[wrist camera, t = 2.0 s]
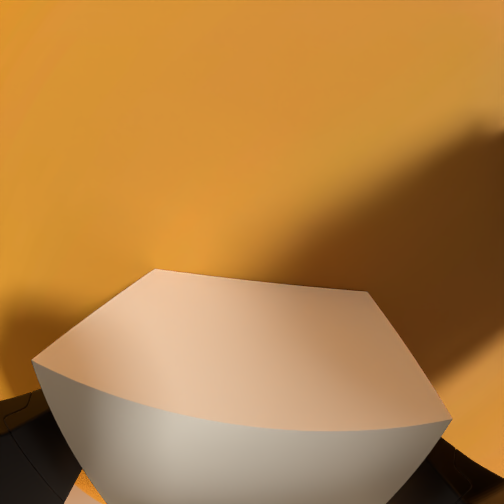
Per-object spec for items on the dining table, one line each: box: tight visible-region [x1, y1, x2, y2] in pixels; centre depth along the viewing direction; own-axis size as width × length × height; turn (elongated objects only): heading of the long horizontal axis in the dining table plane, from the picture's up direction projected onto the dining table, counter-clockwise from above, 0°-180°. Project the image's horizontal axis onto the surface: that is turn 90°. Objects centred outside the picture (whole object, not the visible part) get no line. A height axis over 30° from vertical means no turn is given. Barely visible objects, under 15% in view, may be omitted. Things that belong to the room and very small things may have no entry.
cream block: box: [31, 269, 452, 504], centre depth 8 cm, size 11×7×6 cm, turn 175°
